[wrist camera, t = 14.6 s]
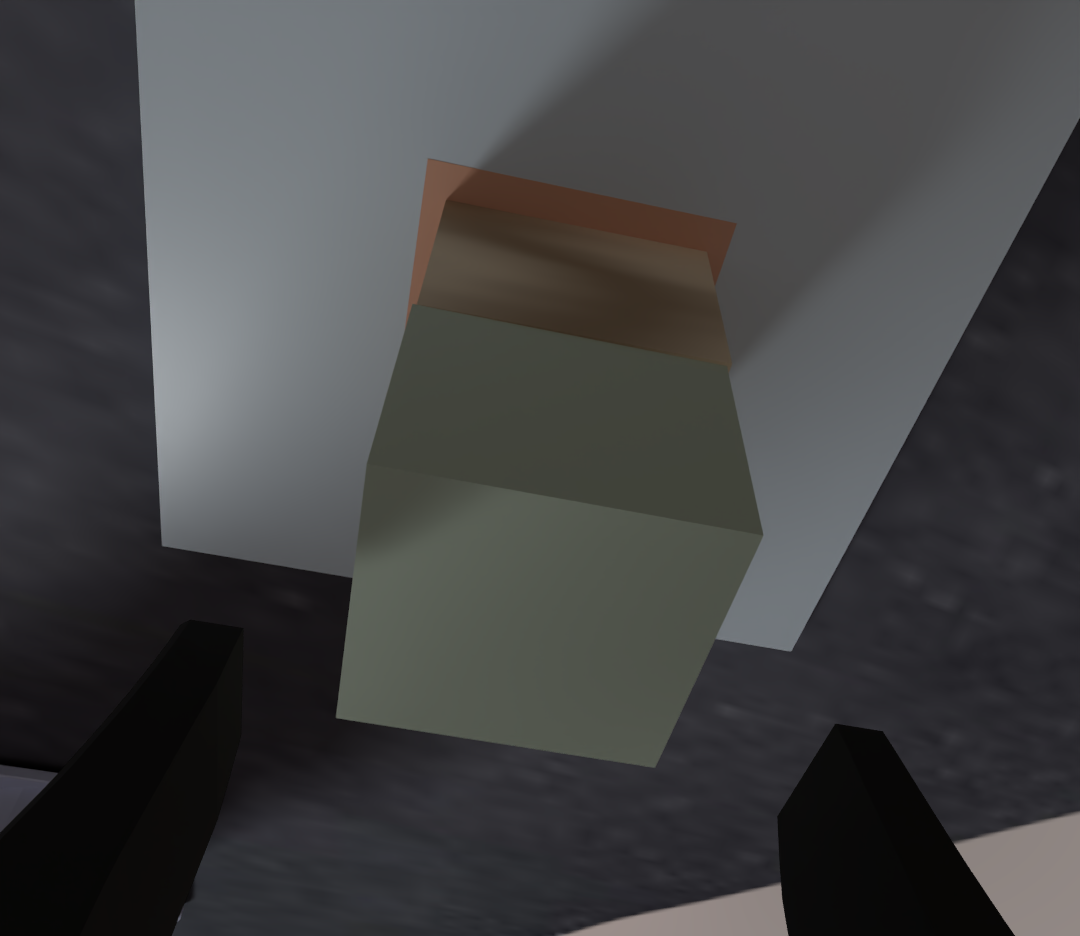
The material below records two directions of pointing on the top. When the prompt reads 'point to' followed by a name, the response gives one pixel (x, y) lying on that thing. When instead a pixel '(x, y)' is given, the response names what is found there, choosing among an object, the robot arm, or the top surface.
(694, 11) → the baseplate
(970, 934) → the robot arm
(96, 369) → the top surface
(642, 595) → the sage block
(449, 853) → the top surface
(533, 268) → the beech block
